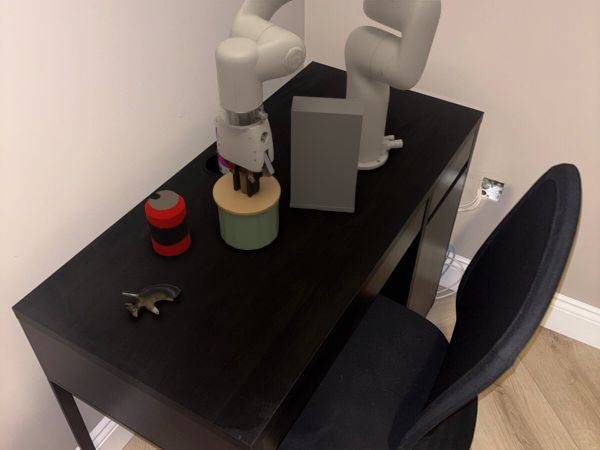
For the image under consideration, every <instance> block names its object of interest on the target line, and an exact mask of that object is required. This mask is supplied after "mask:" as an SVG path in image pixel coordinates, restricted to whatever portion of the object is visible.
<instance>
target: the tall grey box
mask: <svg viewBox="0 0 600 450" xmlns="http://www.w3.org/2000/svg"><path fill="white" fill-rule="evenodd" d="M362 120H363V100H353V99H346V98H337V97H334V98H333V97H320V96H319V97H317V96H302V95H301V96H300V95H293V97H292V103H291V110H290V202H289V208H296V209H309V210H310V209H311V210H319V211H326V212H327V211H328V212H340V213H343V212H344V213H355V205H356V189H357V188H356V187H357V178H358V171H359V170H358V160H359V150H360V140H361V130H362Z"/></svg>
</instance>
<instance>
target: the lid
mask: <svg viewBox="0 0 600 450" xmlns="http://www.w3.org/2000/svg"><path fill="white" fill-rule="evenodd" d="M248 179H249V177H248V169H246V168H244V167H241V168H240V169H239V182H240V189H239V190H238V191H235V190H234V186H233V174H232V173H231V172H230V173H228V174H226V175H225V174H223V175H222V176H221V177H220V178H219V179H217V181H216V182H215V184H214V186H213V189H212V197H213V200H214V203H215V204H216V205H217V207H218V206H219V207H220V208H221V209H223V210H224V211H226V212H228V213H231V214H235V215H242V216H248V215H256V214H259V213H262V212H265V211H267V210H269V209H270V208H272V207H273V206H274V205H275V204H276V203H277V201H278V202H279V200H280V197H281V192H282V191H281V185H280V183H279V181H278V179H276V178H275V176H273V175H272V176H271V177H261V178H260V189H259V191H258V192H257V193H255V194H254V195H253V196H252V197H248V195H247V183H246V182H247V180H248Z"/></svg>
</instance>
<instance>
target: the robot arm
mask: <svg viewBox="0 0 600 450" xmlns="http://www.w3.org/2000/svg"><path fill="white" fill-rule="evenodd" d="M292 1H293V0H244V1H243V2H242V4H241V5H240V8H239V10H238V11H237V13H236V15H235V17H234V19H233V21H232V23H231V27H230V29H229V36H228V38H226V39H224V40H222V41H220V42H219V44H218V45H217V46H216V48H215V55H214V56H215V70H216V80H217V90H218V100H219V101H218V103H219V110H220V112H219V116H218V122H217V139H216V146H217V145H218V149H217V148H216V154H217V155H218V154H219V155H220V156H221V157H222V158H223V159H224V160H225V162H226V163H227V165H228V166H229V171H230V172H231V173H232V174H233V186H234V190H235V191H238V190H239V189H240V182H239V169H240V168H241V167H244V168H246V169H248V177H249V179H248V180H247V182H246V183H247V195H248V197H252V196H253V195H254V194H255V193H257V192H258V191H259V189H260V178H261V177H271V176H273V175H274V174H275V170H274V168H273V165H272V163H273V162H274V158H275V156H274V143H273V135H272V129H271V126H270V121H269V119H268V117H269V114H268V113H267V112H265V110H264V91H263V86H264V85H263V83H265V82H266V81H272V80H276V79H281V78H285V77H288V76H290V75H292V74H295V72H297V71H299V69H300V68H301V67H302V66H303V64H304V63H305V61H306V57H307V48H306V44H305V42H304V41H303V39H302V38H300V37H299V36H298V35H296V34H295V33H294V32H292V31H290V30H288V29H286V28H283V27H280V26H279V25H277V24H275V23H273V22H270V20H271V19H272V17H273V16H274V15H275V14H276V12H277V11H278V10H279V9H280V8H282V7H283V6H285V5H286V4H288V3H289V2H292ZM362 1H363V3H362V10H363V13H364V14H365V16H366V17H367V18H369V19H370V20H372V21H374V22H376V23H378V24H381V25H383V26H384V27H388V28H390V29H392V30H395V31H397V32H400V34H401V37H400V36H398V35H396V34H394V33H392V32H390V31H387V30H384V29H382V28H379V27H376V26H373V25H361V26H358V27H356V28H354V29H353V30H352V31H351V32H350V33H349V35H348V36H347V37H346V41H345V44H344V51H343V53H344V55H343V56H344V63H345V70H346V91H345V99H353V100H363V120H362V130H361V140H360V150H359V160H358V170H357V171H370V170H374V169H377V168H380V167H381V166H383V165H384V164H385V163H386V162H387V160H388V158H389V151H390V150H391V149H400V148H402V149H403V145H404V142H403V139H395V135H394V134H392V135H385V131H386V123H387V117H388V108H389V102H390V95H391V94H390V93H391V91H390V89H391V88H394V89H395V90H396V89H397V90H399V91H408V90H411V89H413V88H414V87H415V86H416V85H417V84H418V83H419V82H420V80H421V79H422V76H423V74H424V71H425V68H426V66H427V63H428V60H429V56H430V53H431V50H432V46H433V43H434V39H435V36H436V33H437V30H438V26H439V23H440V20H441V15H442V0H362ZM390 87H391V88H390Z"/></svg>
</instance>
